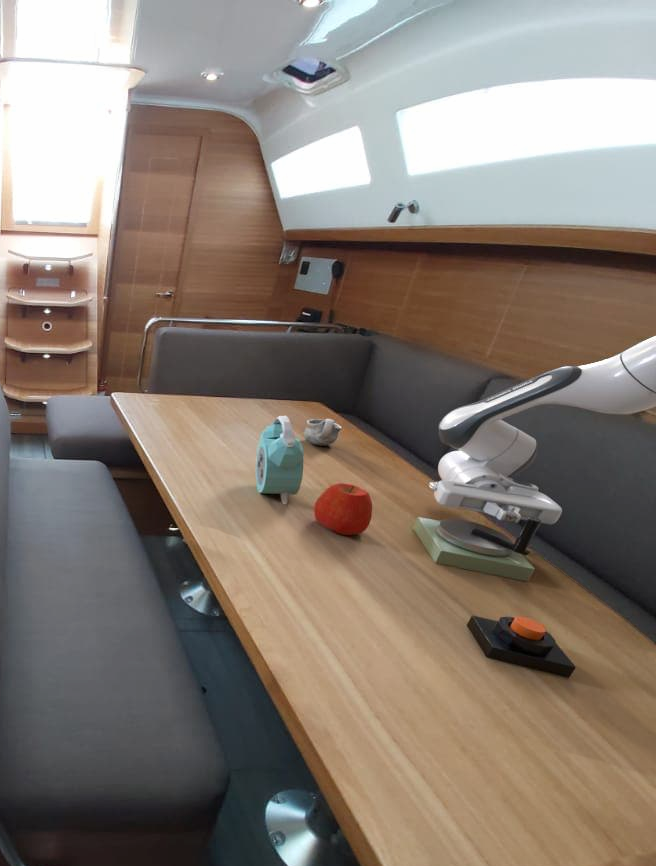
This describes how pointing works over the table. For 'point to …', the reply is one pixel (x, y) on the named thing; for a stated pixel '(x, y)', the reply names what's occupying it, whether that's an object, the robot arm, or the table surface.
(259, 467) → the alarm clock
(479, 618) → the button box
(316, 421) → the grey spouted pot
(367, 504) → the apple
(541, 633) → the button
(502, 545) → the wheel
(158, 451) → the table surface
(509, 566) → the dial plate
